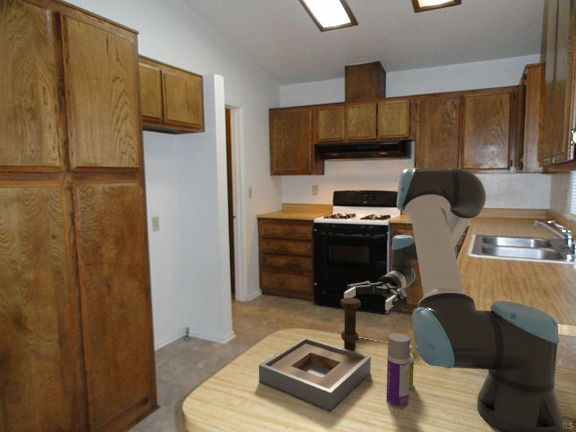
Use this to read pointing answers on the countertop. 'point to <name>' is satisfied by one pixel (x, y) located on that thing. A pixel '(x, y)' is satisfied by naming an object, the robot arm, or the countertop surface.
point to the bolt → (350, 322)
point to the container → (398, 370)
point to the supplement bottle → (411, 369)
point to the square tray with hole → (319, 357)
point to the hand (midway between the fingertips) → (365, 301)
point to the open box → (312, 391)
